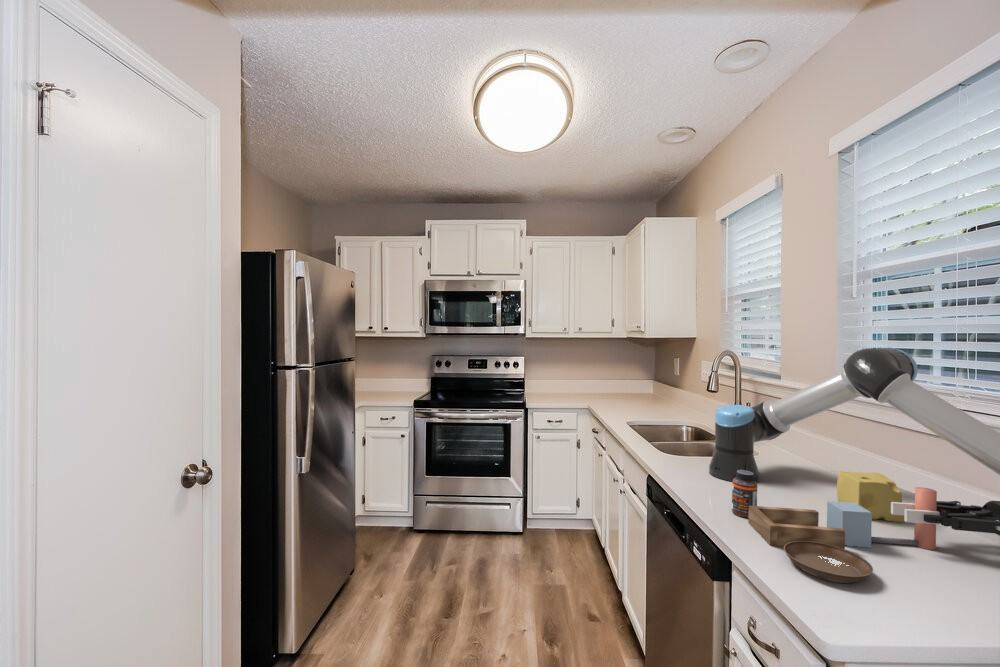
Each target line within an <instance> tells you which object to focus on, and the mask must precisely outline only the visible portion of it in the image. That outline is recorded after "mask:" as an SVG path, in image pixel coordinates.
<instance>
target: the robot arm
mask: <svg viewBox="0 0 1000 667" xmlns="http://www.w3.org/2000/svg"><path fill="white" fill-rule="evenodd" d="M915 360H916V359H914V357H913V356H911V355H910V354H909V353H907V352H906V351H905V350H903V349H902V350H901V349H898V348H895V347H882V348H881V347H880V348H879V347H877V348H873V347H868V348H867V347H866V348H862V349H858V350H856V351H855V352H853V353H852V354H851V355H849V356H848V358H847V359H846V360H845V363H843V364H842V368H841V370H840V371H839V372H836V373H834V374H832V375H830V376H828V377H826V378H824V379H821V380H819V381H817V382H815V383H813V384H810V385H809V386H806V387H804V388H802V389H799V390H797V391H795V392H793V393H791V394H789V395H786V396H785V397H783V398H782V397H781V398H780V399H778V400H776V401H775V400H774V401H773V400H772V399H771V400H770V399H768V400H765V401H763V402H760V403H758V404H756V405H754V406H749V405H744V404H727V405H722V406H720V407H718V408H716V410H715V417H714V421H715V422H714V425H715V428H714V430H715V431H714V438H715V439H714V452H713V455H712V458H711V460H710V463H709V464H708V465H709V466H708V472H709V474H710V475H711V476H712V477H715V478H718V479H720V480H723V481H729V482H733V479H734V478H736V477H737V471H738V470H746V471H750V472H752V473H753V474H754V478H753V480H754V481H755V482H756V483H757V482H758V481H760V471H759V468H758V465H757V461H756V459H755V455H754V454H755V453H754V451H755V450H754V449H755V448H754V445H755V444H754V443H758V442H763V441H770V440H771V441H772V440H774V439H776V438H778V437H780V436H781V435H783V434H784V433H786V432H789V430H790V428H791V425H793V424H797V423H798V422H801V421H803V420H805V419H808V418H810V417H811V418H812V417H814V416H815V415H818V414H821V413H823V412H825V411H827V410H831V409H832V408H836V407H837V406H840V405H842V404H843V405H844V404H845V403H847V402H849V401H852V400H855V399H857V398H860V397H863V398H865V399H873V400H875V401H876V402H878V403H881V404H882V403H883V404H889V405H890V406H892V407H893V408H895V409H896V410H898V411H900V412H901V413H903V415H906V416H907V417H909V418H910V419H911V420H913V421H915V422H917V423H918V424H920V425H921V426H923V427H924V428H926V429H928V430H929V431H930V432H932V433H933V434H935V435H937V436H938V437H940V438H941V439H943V440H945V441H946V442H948V443H949V444H950V445H953V447H955V448H957V449H959V450H960V451H961V452H963V453H965V454H966V455H968V456H969V457H971V458H973V459H974V460H976V461H977V462H978V463H980V464H982V466H985V467H986V468H988V469H990V470H991V471H993V472H994V473H995V474H997V475H999V476H1000V432H999V431H997V430H995V429H994V428H993V427H990V426H989V425H987V424H985V423H984V422H982V421H981V420H979V419H977V418H975V417H974V416H972V415H971V414H968V413H967V412H965V411H964V410H961V409H960V408H959V407H957V406H955V405H953V404H952V403H950V402H948V401H946V400H945V399H944V398H941V396H940V397H939V396H938V395H937V394H935V393H933V392H931V391H930V390H928V389H926V388H924V387H923V386H921V385H919V384H917V383H916V382H914V381H915V380H916V378H917V375H918V373H919V372H918V365H917V362H916V361H915ZM961 503H962V502H961V501H958V500H953V501H947V500H946V501H943V500H937V506H936V511H928V510H915V502H914V503H913V502H910V503H909V502H902V503H899V502H891V514H893V515H904V518H903V521H904V522H906V523H913V524H914V523H925V524H936V525H940V524H941V525H942V526H943V527H951V529H952V530H954V531H962V532H963V531H964V532H975V533H984V534H985V533H986V534H995V535H997V536H999V537H1000V500H989V501H988V502H986V503H985V504H984V505H983V506H981V505H976V504H975V505H973V504H971V505H966V504H965V505H963V504H961Z"/></svg>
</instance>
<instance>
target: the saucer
mask: <svg viewBox="0 0 1000 667" xmlns="http://www.w3.org/2000/svg"><path fill="white" fill-rule="evenodd" d="M783 551H784V552H785V554H786V556H787V557H788V558H789V560H790V561H791V562H792V563H793V564H794V565H795V566H797V568H799V569H800V570H802V571H803V572H806V574H809V575H811V576H813V577H816V578H819V579H822V580H824V579H825V580H824V581H827V582H833V583H839V584H852V583H853V584H854V583H857V582H861V581H863V580H865V579H867V578H868V577H869V576H870V575H871V574H872V573H873V571H874V567H873V566H872V564H871V563H870V562H868V561H867V559H865V558H863V557H861V556H860V555H858V554H856V553H854V552H852V551H849V550H846V548H845V549H842V548H839V547H835V546H832V545H828V544H823V543H818V542H811V541H793V542H789V543H787V544H785V546H783ZM818 556H821V557H822V556H823V557H827V558H832V559H835V560H837V561H840V562H842V564H841V565H840V564H839V565H840V566H839V565H836V566H834V565H835V564H832V563H830V562H829V560H828V559H824V558H823V557H822V559H821V558H820V557H818ZM825 561H826V562H825ZM831 561H832V560H831ZM828 562H829V563H828ZM843 563H845V564H843ZM831 564H832V565H831ZM846 565H849V566H846ZM838 566H839V567H838Z"/></svg>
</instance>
